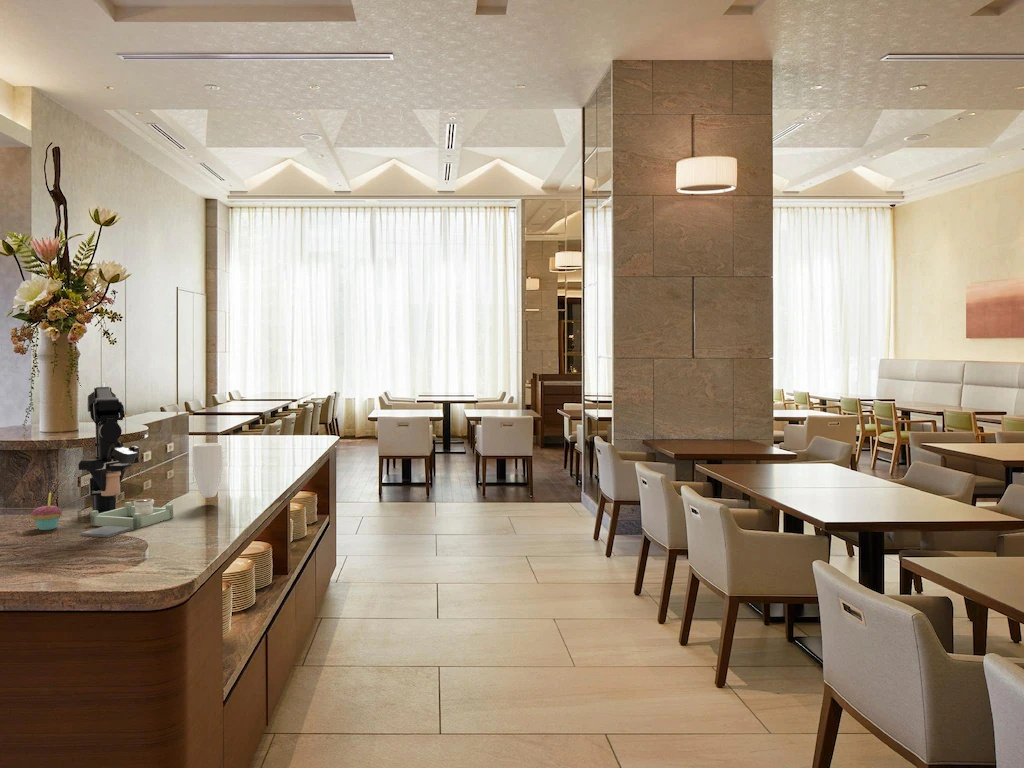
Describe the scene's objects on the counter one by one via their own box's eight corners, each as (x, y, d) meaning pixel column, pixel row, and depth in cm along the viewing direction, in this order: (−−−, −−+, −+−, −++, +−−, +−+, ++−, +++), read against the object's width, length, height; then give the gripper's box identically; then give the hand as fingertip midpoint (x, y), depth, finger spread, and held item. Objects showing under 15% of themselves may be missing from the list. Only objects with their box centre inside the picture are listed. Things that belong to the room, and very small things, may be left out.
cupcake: (69, 526, 250) (67, 488, 249) (45, 532, 242) (43, 493, 241) (48, 524, 253) (47, 487, 252) (24, 530, 245) (23, 491, 244)
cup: (186, 506, 281) (185, 445, 280) (208, 500, 290) (206, 442, 289) (209, 508, 277) (208, 446, 276) (230, 502, 286) (229, 443, 285)
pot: (129, 523, 253) (129, 501, 253) (143, 519, 259) (142, 498, 259) (145, 524, 251) (144, 502, 251) (158, 520, 257) (158, 499, 257)
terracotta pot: (95, 495, 242) (94, 472, 242) (110, 492, 248) (109, 470, 248) (111, 496, 241) (110, 473, 241) (126, 493, 246) (125, 470, 246)
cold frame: (90, 525, 251) (90, 511, 251) (128, 514, 267) (128, 501, 266) (137, 528, 246) (137, 514, 246) (173, 517, 262) (172, 504, 261)
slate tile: (80, 535, 238) (80, 532, 238) (106, 528, 247) (106, 525, 247) (107, 537, 235) (107, 534, 235) (132, 529, 244) (132, 527, 244)
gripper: (106, 442, 233) (108, 495, 233) (152, 436, 251) (153, 485, 251) (76, 442, 236) (78, 494, 236) (123, 436, 254) (124, 485, 254)
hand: (110, 489), depth 244 cm, fingers closed on terracotta pot, 5 cm apart
